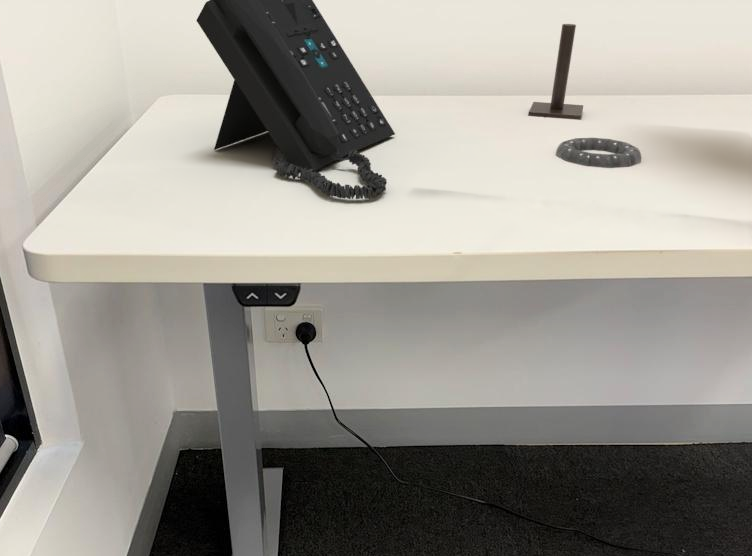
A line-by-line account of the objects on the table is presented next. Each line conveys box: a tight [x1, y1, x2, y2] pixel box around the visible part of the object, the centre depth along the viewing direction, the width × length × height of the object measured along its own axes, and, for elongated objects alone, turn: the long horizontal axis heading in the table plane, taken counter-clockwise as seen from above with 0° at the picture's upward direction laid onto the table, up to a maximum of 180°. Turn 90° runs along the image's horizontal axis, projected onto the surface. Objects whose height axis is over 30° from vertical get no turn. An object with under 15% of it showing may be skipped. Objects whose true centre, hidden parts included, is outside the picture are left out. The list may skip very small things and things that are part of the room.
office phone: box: [195, 0, 396, 200], centre depth 92 cm, size 29×28×20 cm
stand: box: [527, 23, 584, 121], centre depth 116 cm, size 8×8×13 cm
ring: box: [554, 137, 642, 169], centre depth 95 cm, size 10×10×2 cm
